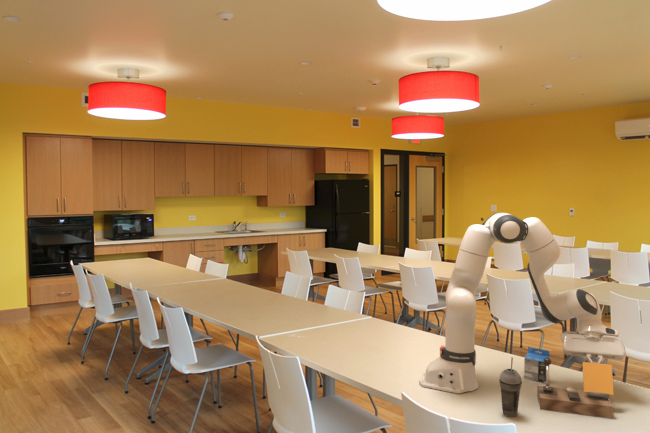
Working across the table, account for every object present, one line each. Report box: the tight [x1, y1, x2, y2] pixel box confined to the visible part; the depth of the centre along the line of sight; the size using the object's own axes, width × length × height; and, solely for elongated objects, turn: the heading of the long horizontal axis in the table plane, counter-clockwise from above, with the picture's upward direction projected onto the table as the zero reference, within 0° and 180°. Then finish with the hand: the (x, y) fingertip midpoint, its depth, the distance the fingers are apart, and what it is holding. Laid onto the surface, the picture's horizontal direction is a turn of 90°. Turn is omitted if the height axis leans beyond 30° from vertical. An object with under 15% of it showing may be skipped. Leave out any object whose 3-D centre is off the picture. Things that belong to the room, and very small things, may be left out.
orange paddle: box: [582, 361, 615, 400], centre depth 172 cm, size 9×2×11 cm, turn 71°
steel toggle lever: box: [542, 358, 553, 392], centre depth 177 cm, size 3×3×12 cm
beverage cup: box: [498, 356, 523, 419], centre depth 166 cm, size 7×7×20 cm
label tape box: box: [523, 346, 551, 384], centre depth 199 cm, size 9×4×12 cm, turn 46°
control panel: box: [536, 385, 613, 419], centre depth 173 cm, size 22×12×5 cm, turn 71°
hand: (595, 367), depth 176 cm, fingers closed
